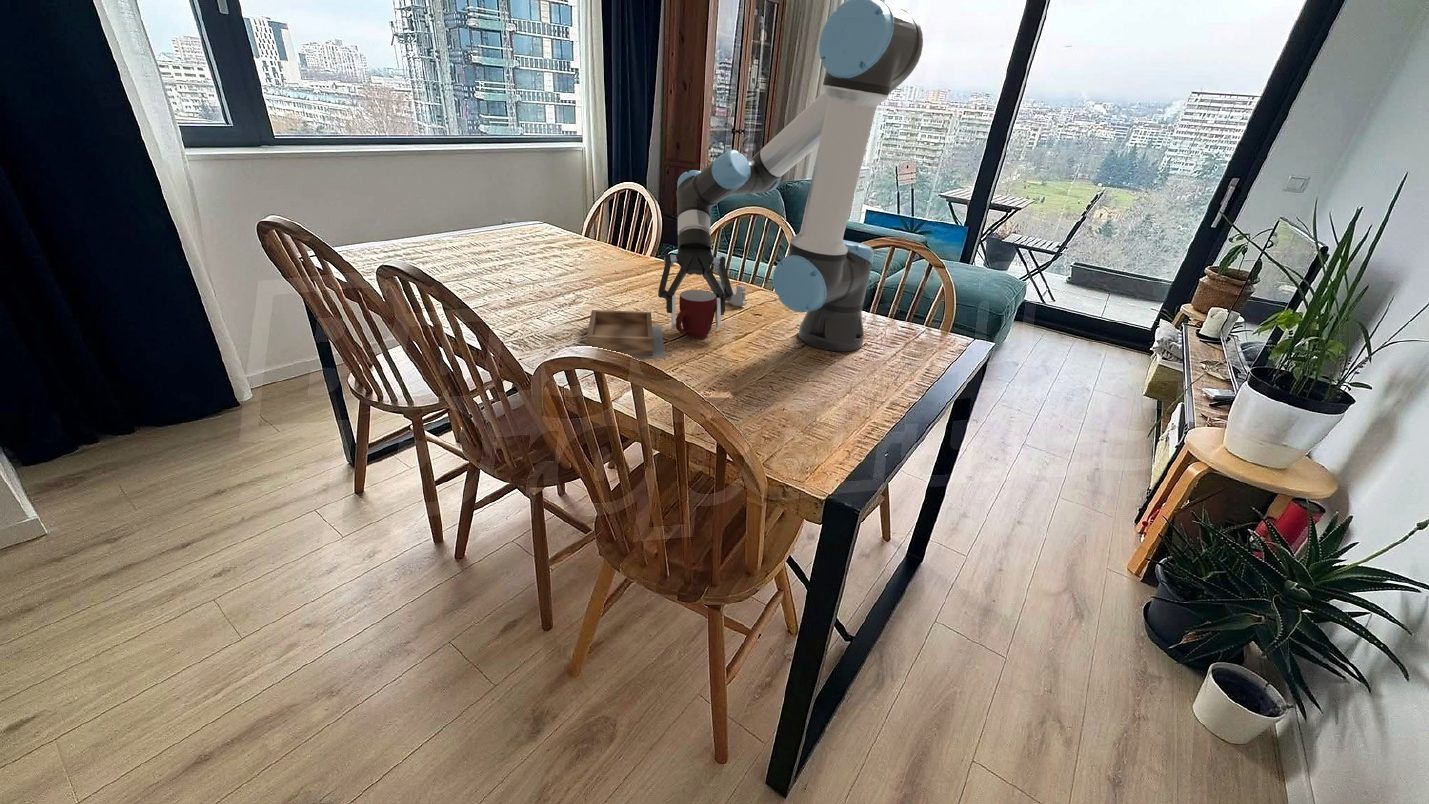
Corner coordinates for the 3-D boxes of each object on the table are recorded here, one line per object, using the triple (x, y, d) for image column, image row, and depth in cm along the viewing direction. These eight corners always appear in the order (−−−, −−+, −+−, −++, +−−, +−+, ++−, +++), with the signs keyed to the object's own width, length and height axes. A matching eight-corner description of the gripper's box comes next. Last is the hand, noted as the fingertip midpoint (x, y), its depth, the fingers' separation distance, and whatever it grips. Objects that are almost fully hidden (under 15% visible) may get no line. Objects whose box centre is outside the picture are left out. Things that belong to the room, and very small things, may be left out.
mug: (694, 351, 122) (696, 307, 117) (664, 342, 126) (665, 298, 121) (721, 337, 130) (723, 295, 125) (691, 328, 134) (693, 287, 129)
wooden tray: (650, 327, 130) (650, 312, 128) (652, 356, 116) (653, 338, 114) (592, 325, 128) (591, 309, 126) (587, 354, 114) (586, 336, 112)
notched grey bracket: (718, 299, 157) (747, 308, 152) (715, 299, 156) (744, 309, 151) (720, 278, 154) (749, 287, 149) (717, 279, 153) (746, 288, 148)
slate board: (661, 330, 131) (661, 326, 131) (665, 362, 116) (665, 358, 115) (590, 328, 129) (590, 324, 128) (584, 360, 113) (584, 356, 113)
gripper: (738, 247, 135) (742, 335, 128) (645, 242, 132) (645, 332, 125) (744, 229, 128) (749, 321, 121) (646, 223, 125) (646, 317, 118)
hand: (696, 326), depth 123 cm, fingers closed on mug, 9 cm apart
